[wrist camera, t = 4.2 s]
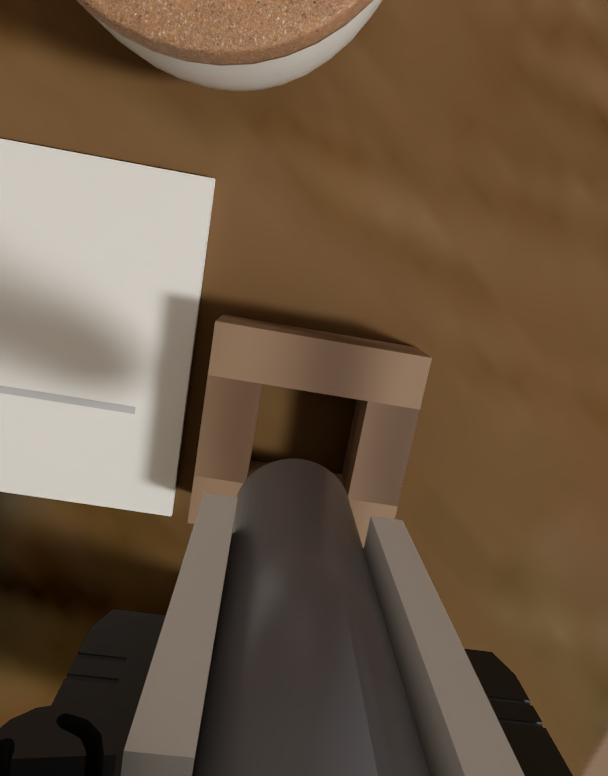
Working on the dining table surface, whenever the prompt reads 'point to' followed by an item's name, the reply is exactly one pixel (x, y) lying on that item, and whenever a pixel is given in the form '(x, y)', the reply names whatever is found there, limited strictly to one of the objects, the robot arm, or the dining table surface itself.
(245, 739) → the marker
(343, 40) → the lidded jar
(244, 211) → the dining table surface
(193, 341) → the paper
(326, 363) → the pen holder
